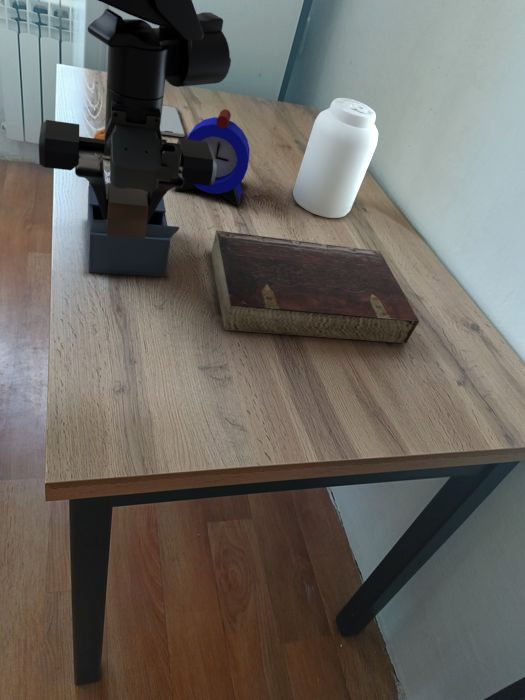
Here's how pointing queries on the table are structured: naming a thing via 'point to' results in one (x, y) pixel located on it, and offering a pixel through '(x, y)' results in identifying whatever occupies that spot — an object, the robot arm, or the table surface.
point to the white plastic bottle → (336, 158)
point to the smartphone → (171, 122)
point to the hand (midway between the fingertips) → (125, 219)
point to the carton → (126, 246)
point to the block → (126, 212)
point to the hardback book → (308, 289)
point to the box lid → (150, 229)
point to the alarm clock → (223, 155)
